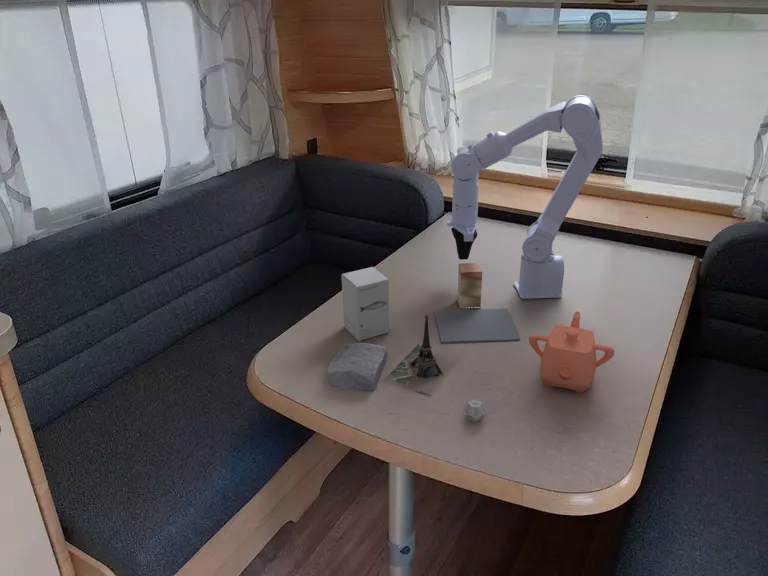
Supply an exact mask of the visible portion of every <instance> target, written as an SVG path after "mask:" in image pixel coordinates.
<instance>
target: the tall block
mask: <svg viewBox="0 0 768 576" xmlns="http://www.w3.org/2000/svg"><path fill="white" fill-rule="evenodd" d="M457 277H458V278H457V302H458V301H459V303H458V306H459V305H460V307H459V309H460V308H466V307H467V308H468V307H470V308H471V307H473V308H474V307H480V308H481V303H482V288H483V283H482V282H483V270H482V267H481V264H480V262H475V263H474V262H472V263H471V262H470V263H469V262H467V263H465V262H464V263H458V276H457ZM474 309H475V308H474Z"/></svg>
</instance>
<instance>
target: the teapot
mask: <svg viewBox="0 0 768 576" xmlns="http://www.w3.org/2000/svg"><path fill="white" fill-rule="evenodd" d="M580 318H581V313H580V312H579V311H575V312H574V313H573V316H572V320H571V323H570V326H569V325H568V326H566V325H559V324H556V325H554V326H553V327H552V329H551V331H550V333H549V335H544V334H538V333H537V334H536V333H535V334H534V333H533V334H530V335H529V336H528V343H529V345H530V347H531V348H532V349H533V351H534V353H536V355H538V357H540V367H539V369H540V373H539V374H540V377H541V380H542V383H544V385H545V386H546V387H548V388H555V387H558V388H563V389H568V390H573V391H574V392H576V393H580V394H582V393H585V391H587V390H588V389H589V387H590V386H591V383H592V382H593V380H594V378H595V374H596V369H597V368H599V367H601V366H602V365H604V364H605V363H607V362H608V361H610V360H611V359H612V358H613V357H614V355H615V353H616V352H615V349H614V348H613V347H612V346H609V345H605V344H601V343H600V344H599V343H596V340H595V334H594V331H593V330H592V329H591V330H590V329H586V328H580ZM538 341H543V342H546V343H544V347H543V350H542V349H541V348H540V346H539V344H538ZM597 350H598V351H603V352H604V354H603V356H602V357H601V358H599V359H598V360H597Z"/></svg>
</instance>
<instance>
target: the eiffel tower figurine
mask: <svg viewBox="0 0 768 576" xmlns="http://www.w3.org/2000/svg"><path fill="white" fill-rule="evenodd" d="M429 331H430V330H429V316H428V312H426V314H425V315H424V331H423V341H422V344H420V343H417V344H416V345H415V347H413V348H412V350H411V351H409V353H408V354H406V356H405V357H404V358H403V359H402V360H401V361H400V362H399V363H398V364H397V366H395V368H394V369H392V371H390V376H391V378H392V379H393V382H395V383H397V384H398V385H403V386H407V385H409V384H410V383H411V382H412V381H413V379H414V376H415V379H416V380H417V381H420V380H425V379H430V378H436V377H440V376H445V374H444V372H443V370H442V369H441V367H440V366H439V365H438V363H437V361H436V360H437V359H436V358H435V356H434V354H433V352H432V346H431V343H430V334H429V333H430V332H429ZM414 354H416V357H415V358H414V359H413V360H412V357H411V356H413V355H414ZM413 392H414V393H416V394H421V395H424V396H428V397H431V396H432V394H431V393H428V392H423V391H422V390H421V391H418V390H415V391H413Z"/></svg>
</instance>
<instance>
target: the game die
mask: <svg viewBox="0 0 768 576" xmlns="http://www.w3.org/2000/svg"><path fill="white" fill-rule="evenodd" d="M463 412H464V413H463V414H464V416H465V417H466V419H468V420H469V421H471V422H475V423H477V422H478V421H480V420H482V419H483V418H484V417H485V416H486V415H487V412H486V406H485V405H484V403H483V402H482V401H480V400H478V399H475V398H474V399H472V400H470V401H468V402H467V403H466V404H465V405H464V407H463Z"/></svg>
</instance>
